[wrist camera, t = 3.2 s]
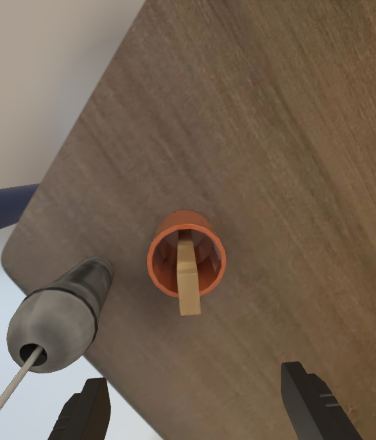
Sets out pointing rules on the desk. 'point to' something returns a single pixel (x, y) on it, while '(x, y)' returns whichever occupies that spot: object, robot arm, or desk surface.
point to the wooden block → (187, 275)
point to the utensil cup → (203, 248)
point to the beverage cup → (58, 321)
